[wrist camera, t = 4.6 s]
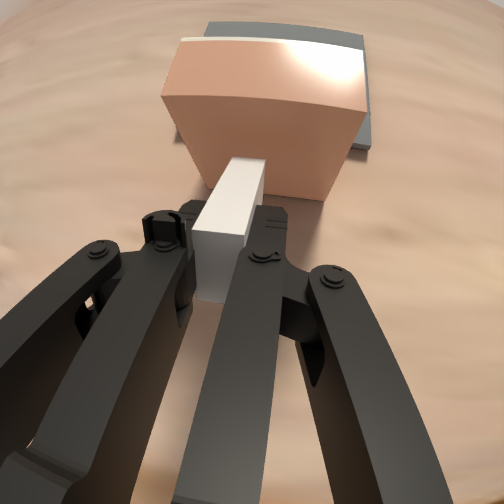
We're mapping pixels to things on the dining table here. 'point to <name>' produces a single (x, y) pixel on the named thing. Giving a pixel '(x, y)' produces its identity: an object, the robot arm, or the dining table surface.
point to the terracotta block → (268, 108)
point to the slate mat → (308, 36)
